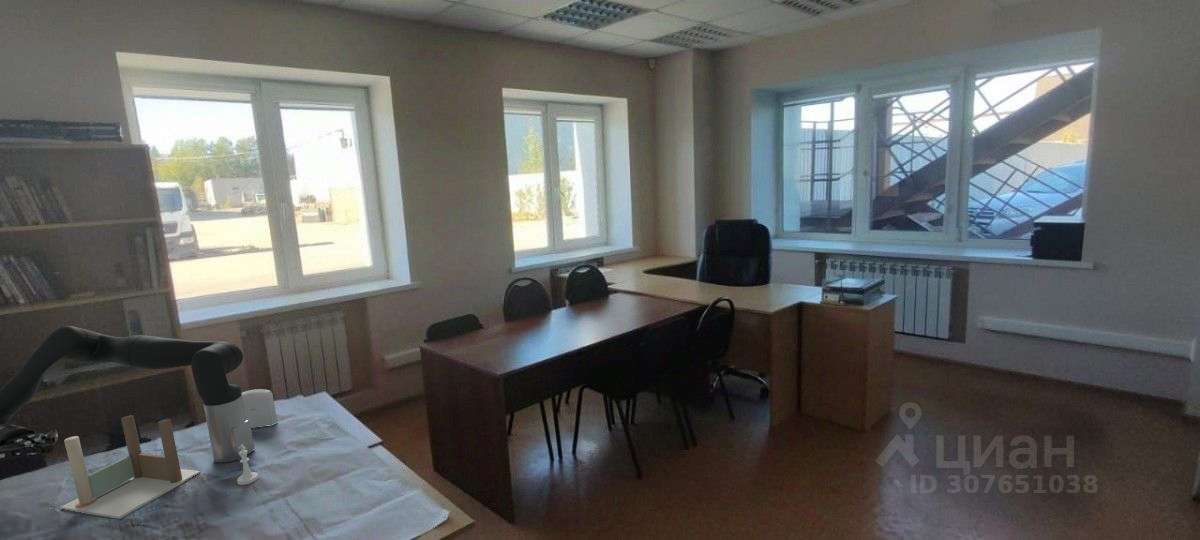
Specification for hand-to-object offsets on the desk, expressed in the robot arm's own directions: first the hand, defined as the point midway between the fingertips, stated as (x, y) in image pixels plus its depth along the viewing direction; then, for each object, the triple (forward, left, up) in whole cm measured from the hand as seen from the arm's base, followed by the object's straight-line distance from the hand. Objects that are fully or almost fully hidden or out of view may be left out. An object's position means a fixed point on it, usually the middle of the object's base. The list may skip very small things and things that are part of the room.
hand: (48, 449), depth 140 cm
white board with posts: (-15, -6, -14) cm, 22 cm away
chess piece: (-43, -13, -15) cm, 47 cm away
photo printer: (-22, -43, -15) cm, 50 cm away
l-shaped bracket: (-10, -4, -13) cm, 17 cm away
